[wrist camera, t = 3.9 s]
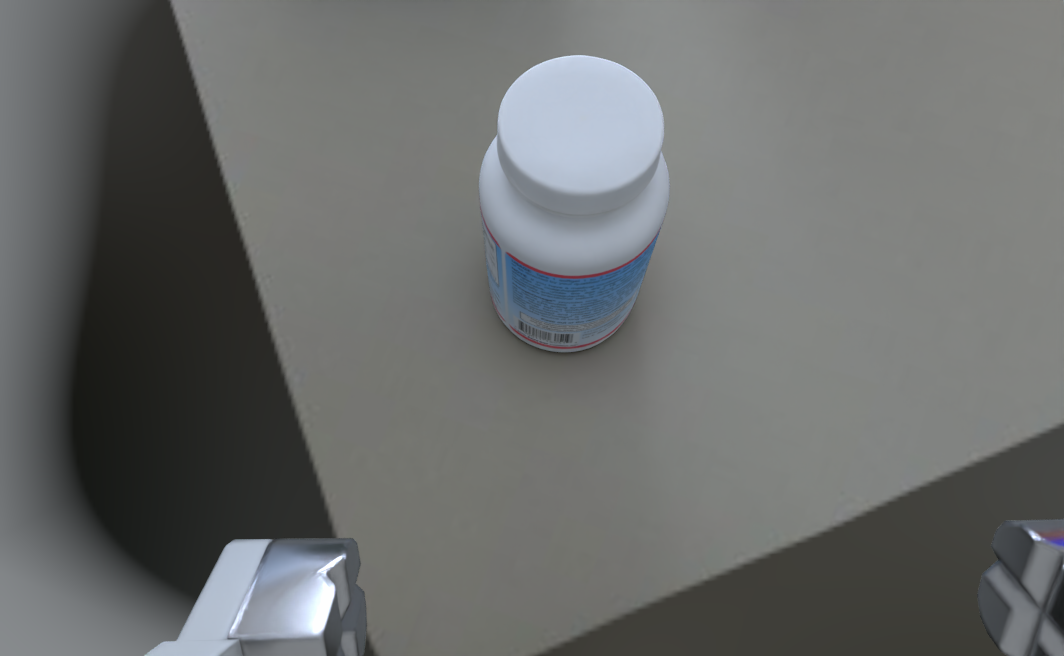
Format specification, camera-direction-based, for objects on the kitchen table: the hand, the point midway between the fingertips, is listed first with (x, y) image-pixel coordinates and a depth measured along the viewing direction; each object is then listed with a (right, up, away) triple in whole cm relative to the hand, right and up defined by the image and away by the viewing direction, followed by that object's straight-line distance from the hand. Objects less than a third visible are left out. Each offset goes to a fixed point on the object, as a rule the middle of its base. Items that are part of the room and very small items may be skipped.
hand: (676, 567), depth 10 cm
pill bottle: (-1, +5, +22) cm, 22 cm away
